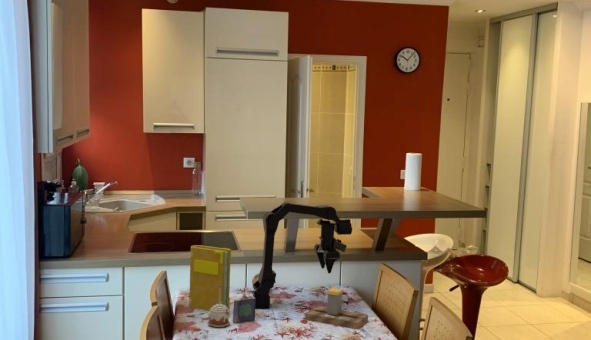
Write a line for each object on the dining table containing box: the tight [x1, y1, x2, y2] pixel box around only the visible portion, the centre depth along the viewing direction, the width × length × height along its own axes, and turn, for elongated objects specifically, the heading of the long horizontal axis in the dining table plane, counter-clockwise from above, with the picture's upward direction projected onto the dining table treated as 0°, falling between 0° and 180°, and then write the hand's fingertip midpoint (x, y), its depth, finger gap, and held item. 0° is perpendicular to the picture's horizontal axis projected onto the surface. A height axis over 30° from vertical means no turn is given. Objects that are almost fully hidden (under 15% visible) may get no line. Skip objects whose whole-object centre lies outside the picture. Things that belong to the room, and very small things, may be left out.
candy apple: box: [207, 286, 231, 328], centre depth 218 cm, size 8×8×15 cm
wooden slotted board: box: [304, 305, 369, 330], centre depth 229 cm, size 22×12×3 cm, turn 64°
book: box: [188, 244, 232, 312], centre depth 238 cm, size 17×7×25 cm, turn 65°
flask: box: [232, 293, 256, 324], centre depth 223 cm, size 9×3×11 cm, turn 121°
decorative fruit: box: [251, 272, 260, 285], centre depth 266 cm, size 9×8×10 cm
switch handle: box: [326, 287, 344, 315], centre depth 229 cm, size 5×6×11 cm
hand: (326, 270), depth 250 cm, fingers open, 9 cm apart
